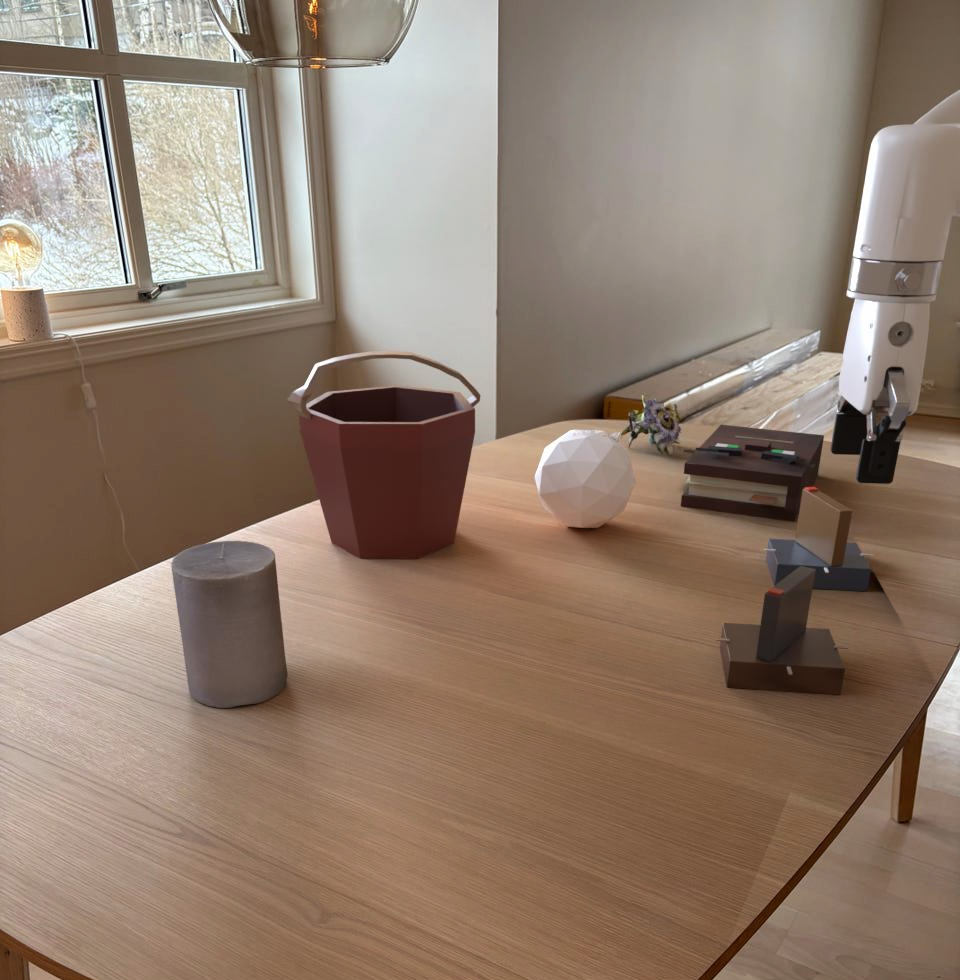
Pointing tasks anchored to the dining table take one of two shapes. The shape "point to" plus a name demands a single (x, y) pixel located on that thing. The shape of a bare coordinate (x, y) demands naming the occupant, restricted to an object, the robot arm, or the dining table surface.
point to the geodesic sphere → (585, 478)
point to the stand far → (818, 566)
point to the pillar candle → (230, 622)
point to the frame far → (823, 526)
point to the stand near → (782, 662)
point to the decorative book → (752, 471)
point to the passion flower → (656, 425)
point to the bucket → (388, 460)
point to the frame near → (785, 613)
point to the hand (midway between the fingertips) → (859, 467)
